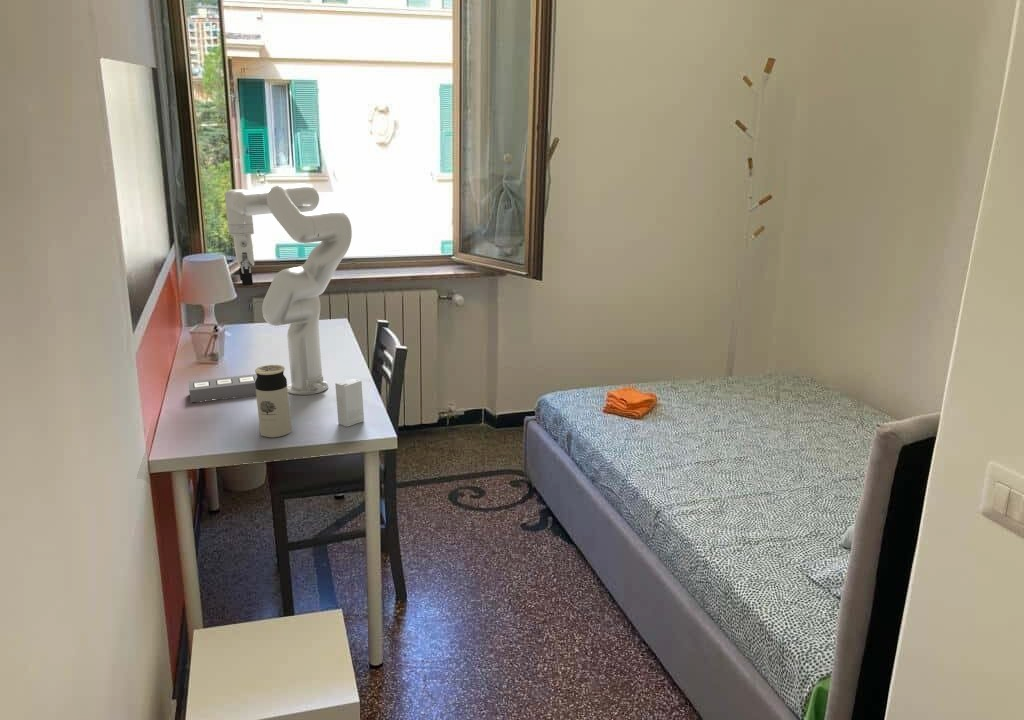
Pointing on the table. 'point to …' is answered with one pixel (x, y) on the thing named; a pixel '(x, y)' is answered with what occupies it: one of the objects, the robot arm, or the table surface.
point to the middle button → (224, 381)
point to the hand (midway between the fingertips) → (246, 282)
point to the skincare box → (349, 402)
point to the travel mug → (272, 401)
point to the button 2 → (246, 379)
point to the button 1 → (201, 384)
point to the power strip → (222, 389)
